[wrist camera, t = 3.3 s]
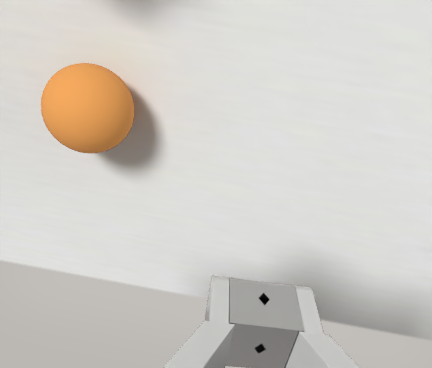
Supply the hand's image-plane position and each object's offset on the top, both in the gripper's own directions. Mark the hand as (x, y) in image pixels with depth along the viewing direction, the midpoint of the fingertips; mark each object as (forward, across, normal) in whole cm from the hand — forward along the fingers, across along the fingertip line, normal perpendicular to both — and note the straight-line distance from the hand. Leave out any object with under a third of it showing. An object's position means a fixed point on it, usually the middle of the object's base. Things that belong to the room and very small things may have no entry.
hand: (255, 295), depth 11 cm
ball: (+14, -10, 0) cm, 17 cm away
